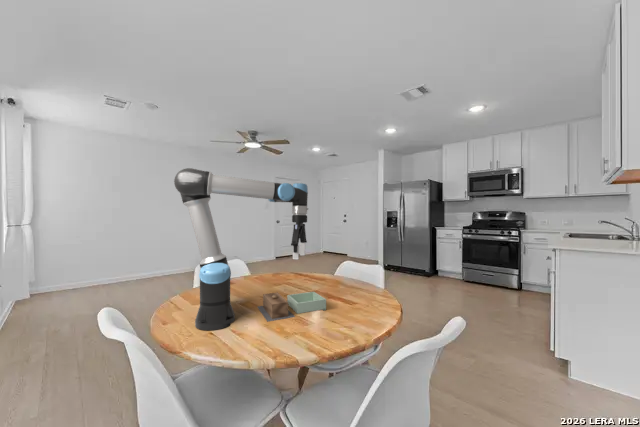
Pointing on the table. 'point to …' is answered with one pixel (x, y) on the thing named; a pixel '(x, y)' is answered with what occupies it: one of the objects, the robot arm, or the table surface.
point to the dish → (306, 302)
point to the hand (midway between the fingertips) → (299, 257)
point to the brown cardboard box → (275, 305)
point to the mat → (269, 315)
